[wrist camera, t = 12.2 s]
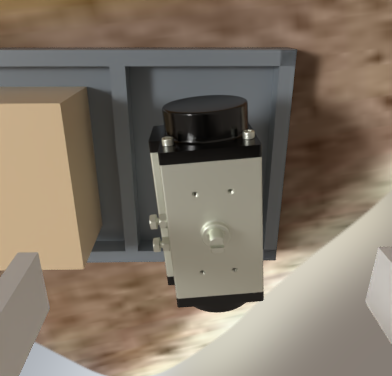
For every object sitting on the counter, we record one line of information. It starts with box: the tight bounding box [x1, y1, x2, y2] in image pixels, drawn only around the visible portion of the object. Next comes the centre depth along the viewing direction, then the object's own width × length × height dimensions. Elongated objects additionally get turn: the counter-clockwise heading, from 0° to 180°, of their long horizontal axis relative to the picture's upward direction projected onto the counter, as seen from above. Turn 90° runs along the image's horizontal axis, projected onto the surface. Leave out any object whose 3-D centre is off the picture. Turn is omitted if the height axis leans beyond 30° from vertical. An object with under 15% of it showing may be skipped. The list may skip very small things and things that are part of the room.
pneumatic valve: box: [148, 95, 264, 312], centre depth 23 cm, size 6×12×12 cm, turn 5°
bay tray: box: [0, 48, 297, 270], centre depth 26 cm, size 16×23×7 cm
